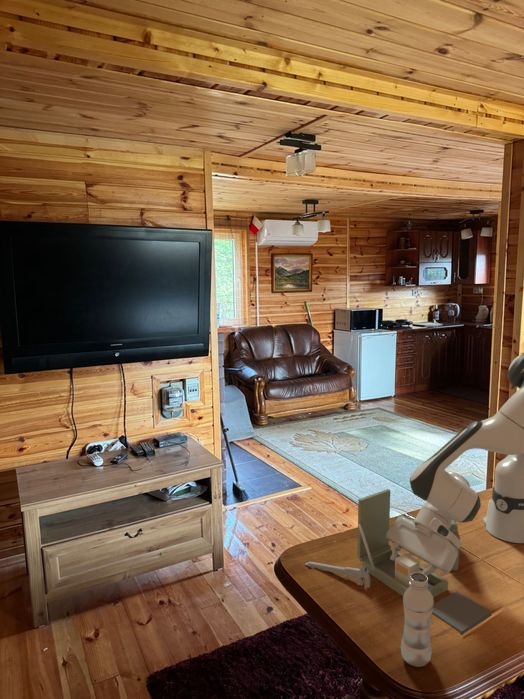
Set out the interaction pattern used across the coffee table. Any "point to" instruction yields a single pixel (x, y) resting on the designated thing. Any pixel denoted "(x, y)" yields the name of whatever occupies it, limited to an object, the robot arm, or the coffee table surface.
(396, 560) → the block
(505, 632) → the coffee table surface
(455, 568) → the geiger counter
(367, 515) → the equipment case
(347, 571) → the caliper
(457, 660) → the coffee table surface
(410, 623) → the plastic bottle
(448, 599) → the rubber mat
